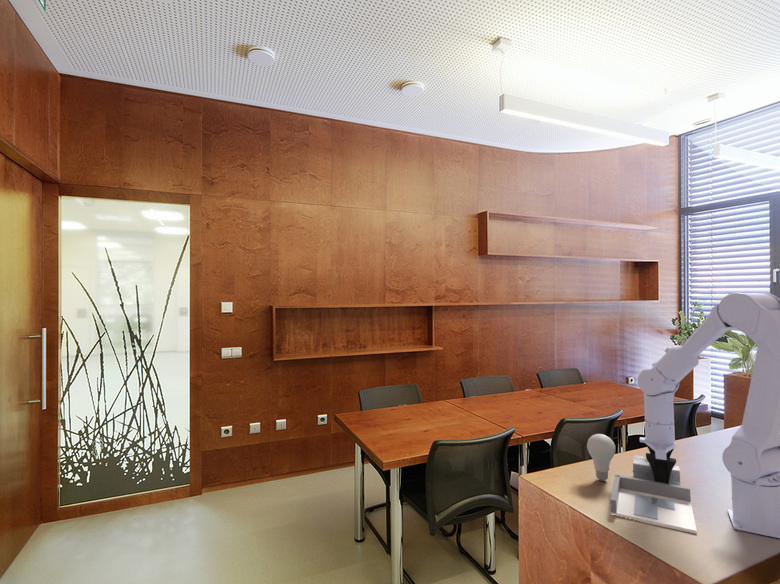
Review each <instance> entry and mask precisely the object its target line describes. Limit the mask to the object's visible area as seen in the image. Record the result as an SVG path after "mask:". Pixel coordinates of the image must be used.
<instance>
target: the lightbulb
mask: <svg viewBox="0 0 780 584" xmlns="http://www.w3.org/2000/svg"><path fill="white" fill-rule="evenodd" d="M586 448H587V451H588V454H589V455H590V457H591V458H592V461H593V466H594V470H595V476H596V478H597V479H598V480H599V481H600V482H605V481H607V480H608V479H609V471H610V465H611V461H612V459H613V458H614V456H615V454H616V451H617V450H616V445H615V442H614V441H613V439H611V437H609V436H607V435H605V434H603V433H595V434H592V435H591V436H590V437H589V438H588V439H587V443H586Z"/></svg>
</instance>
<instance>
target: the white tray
mask: <svg viewBox="0 0 780 584" xmlns="http://www.w3.org/2000/svg"><path fill="white" fill-rule="evenodd" d="M691 498H692V497H691V487H690V486H689V487H688V486H682V485H680V486H677V485H672V484H666V483H660V482H655V481H649V480H643V479H638V478H633V476H632V477H631V476H630V477H629V476H625V475H619V474H614V479H613V483H612V489H611V493H610V498H609V500H610V515H611V514H615V515H618V516H622V517H627V518H631V519H634V520H633V521H636V520H637V521H636V522H641V523H644V524H649V525H655V526H659V527H663V528H667V529H671V530H672V529H673V530H677V531H681V532H687V533H691V534H693V535H694V534H696V535H697V534H698V533H697V532H698V531H697V526H696V521H695V516H694V512H693V506H692V503H691V502H692V500H691ZM622 517H621V518H622ZM627 518H626V519H627ZM631 519H630V520H631Z"/></svg>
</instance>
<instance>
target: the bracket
mask: <svg viewBox="0 0 780 584" xmlns="http://www.w3.org/2000/svg"><path fill="white" fill-rule="evenodd" d="M632 459H633V461H632V473H633V475H632V478H638V479H643V480H649V481H654V476H653V472H652V469H651V466H650V464H649V462H648V460H647V458H646V456H642V455H635V454H634V455H633V458H632ZM669 484H672V485H677V486H681V470H680V466H679V465H674V467H673V469H672V471H671V474H670V480H669Z"/></svg>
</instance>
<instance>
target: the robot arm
mask: <svg viewBox="0 0 780 584" xmlns="http://www.w3.org/2000/svg"><path fill="white" fill-rule="evenodd" d="M733 330H737V331H740V332H742V334H745V335H746V336H747V337H748V338H749V339H750V340H752V342H753V343H754V344H755V345H756V347H757V350H756V354H755V358H754V363H753V368H752V373H751V378H750V384H749V388H748V392H747V393H748V394H747V398H746V402H745V407H744V411H743V417H742V418H743V419H742V422H741V425H740V427H739V428H738V429H737V430H736V431H735V433H734V434H733V435H732V437H731V442H730V444H729V445H728V446H727V447H726V448H724V450H723V452H722V454H721V455H722V462H723V465H724V467H725V468H726V470H727V471H728V472H729V473H730V479H731V482H730V483H731V504H732V506H731V507H732V508H728V509H727V513H728V516H729V519H730V521H731V522H730V523H731V524H732V528H733V529H735V530H736V531H737V530H738V531H742V532H747V533H752V534H757V535H761V536H766V537H772V538H777V539H780V298H779V297H778V296H776V295H775V294H772V293H770V292H755V293H748V292H747V293H743V292H733V293H729V294H727V295H726V296H724V297H723V298H722V299H720V301H719V303H717V304H716V305H714V306H713V307H712V308H711V310H710V312H709V315H707V317H706V318H705V319H704V320H703V321H702V322H701V323H700V325H699V326H698V327H697V328H696V329H695V330H694V332H693V333H691V334H690V336H689V337H688V338H687V339H686V341H685V342H684V343H683V344H682V345H681V344H680V345H677V344H676V345H672V346H669V347H667V348H666V349H665V350H664V352H665V354H664V355H662V357H661V358H660V359H658V361H655V362H653V363H652V364H651V366H652V367H651V368H650V369H649V368H648V369H643V370H641V371H640V373H639V375H638V376H637V377H638V378H637V384H638V387H639V390H640V391H641V392H643V402H644V403H643V405H644V406H643V407H644V408H643V409H644V433H645V437H642V436H640V437H639V442H640V443H643V444H645V445H646V447H647V450H648V451H649V452H646V453H645V457H646V458H647V460H648V462H649V464H650V466H651V469H652V472H653V476H654V481H655V482H660V483H666V484H669V480H670V474H671V471H672V469H673V467H674V466H676V464H677V458H672V457H671V456H672V453H673V451H674V450H675V448H676V447H677V443H676V439H675V438H676V436H675V435H676V434H675V414H674V413H675V410H674V409H675V408H674V400H675V393H676V392H677V391H678V389H679V388H680V382H681V381H682V380H683V379H684V378H685V377H686V376H687V375H688V374H690V373H691V372H692V371H693V370H694V369H695V368H696V367H697V366H698V365H699V355H701V354H702V353H703V351H706V349H707V348H708V347H710V346H711V345H712V344H714V343H715V342H716V341H717V340H719V338H721V337H722V336H723V335H724V334H726V332H729V331H733Z"/></svg>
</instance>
